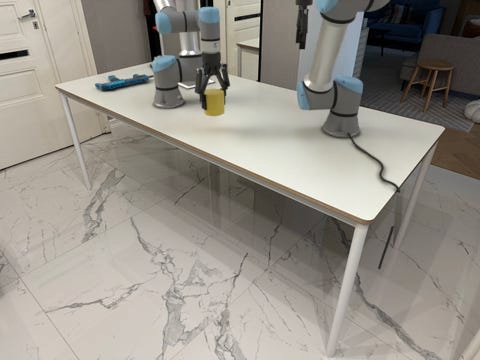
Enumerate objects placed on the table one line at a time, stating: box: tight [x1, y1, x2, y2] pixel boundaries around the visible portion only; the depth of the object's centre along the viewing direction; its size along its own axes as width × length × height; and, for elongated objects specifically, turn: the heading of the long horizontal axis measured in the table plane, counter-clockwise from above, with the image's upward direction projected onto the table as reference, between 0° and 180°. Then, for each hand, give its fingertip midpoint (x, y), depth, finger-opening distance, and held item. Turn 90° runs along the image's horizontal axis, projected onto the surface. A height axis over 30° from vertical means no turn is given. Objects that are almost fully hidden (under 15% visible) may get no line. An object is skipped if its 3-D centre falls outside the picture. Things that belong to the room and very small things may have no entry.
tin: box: [203, 88, 226, 117], centre depth 144 cm, size 9×9×9 cm
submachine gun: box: [94, 73, 154, 91], centre depth 208 cm, size 34×4×25 cm
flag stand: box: [152, 25, 168, 60], centre depth 234 cm, size 13×13×30 cm
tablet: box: [178, 78, 216, 90], centre depth 213 cm, size 32×20×1 cm, turn 41°
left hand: (213, 106), depth 145 cm, fingers closed on tin, 9 cm apart
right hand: (300, 46), depth 160 cm, fingers open, 13 cm apart
